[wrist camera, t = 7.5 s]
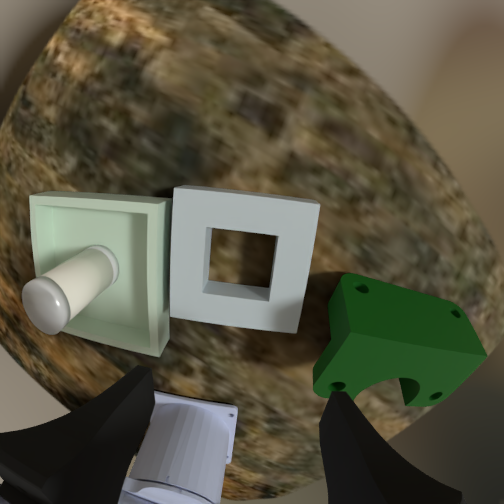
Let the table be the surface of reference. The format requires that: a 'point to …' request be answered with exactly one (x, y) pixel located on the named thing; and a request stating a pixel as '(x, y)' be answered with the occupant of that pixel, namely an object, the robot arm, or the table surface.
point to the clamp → (395, 342)
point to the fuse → (69, 288)
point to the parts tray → (127, 253)
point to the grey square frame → (249, 220)
